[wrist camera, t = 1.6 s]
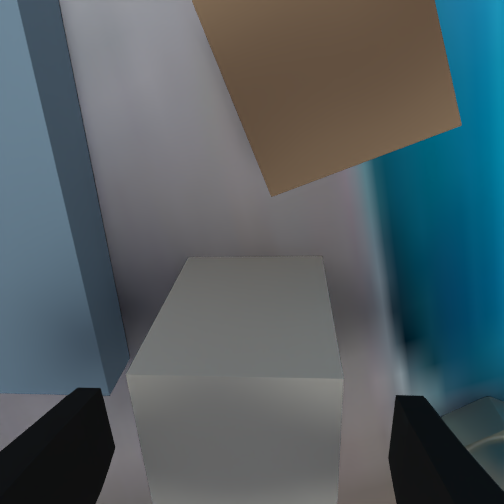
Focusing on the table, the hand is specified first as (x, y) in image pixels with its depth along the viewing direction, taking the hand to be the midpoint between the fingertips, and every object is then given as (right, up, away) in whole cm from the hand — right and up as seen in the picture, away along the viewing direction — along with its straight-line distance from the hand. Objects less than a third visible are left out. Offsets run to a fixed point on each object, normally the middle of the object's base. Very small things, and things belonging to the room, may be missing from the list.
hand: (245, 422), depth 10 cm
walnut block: (+2, +9, +1) cm, 10 cm away
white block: (0, +2, +5) cm, 5 cm away
